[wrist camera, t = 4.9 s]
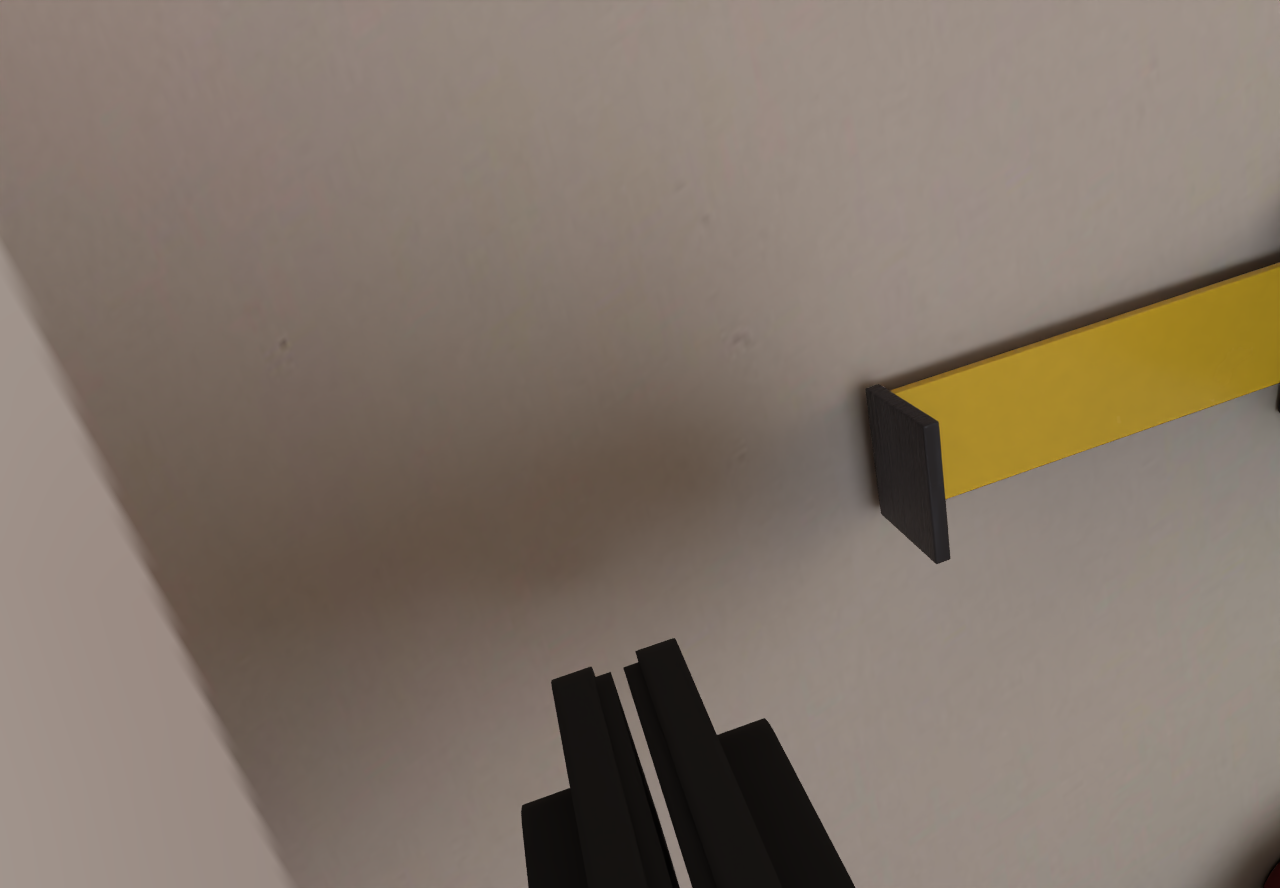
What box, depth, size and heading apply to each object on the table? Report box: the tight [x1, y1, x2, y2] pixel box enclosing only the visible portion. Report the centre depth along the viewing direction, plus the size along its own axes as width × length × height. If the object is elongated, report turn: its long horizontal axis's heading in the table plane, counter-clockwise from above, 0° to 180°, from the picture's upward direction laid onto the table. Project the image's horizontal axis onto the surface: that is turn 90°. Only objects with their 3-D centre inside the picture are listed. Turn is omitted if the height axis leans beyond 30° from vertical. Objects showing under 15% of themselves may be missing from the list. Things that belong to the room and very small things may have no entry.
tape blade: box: [866, 262, 1280, 564], centre depth 15 cm, size 10×3×2 cm, turn 104°
